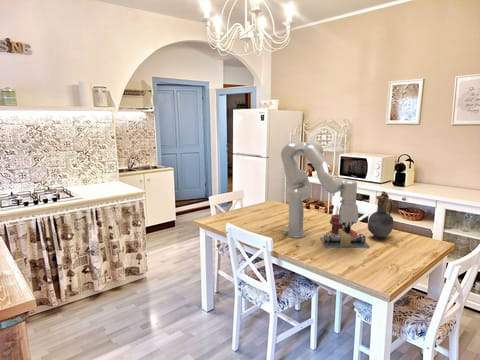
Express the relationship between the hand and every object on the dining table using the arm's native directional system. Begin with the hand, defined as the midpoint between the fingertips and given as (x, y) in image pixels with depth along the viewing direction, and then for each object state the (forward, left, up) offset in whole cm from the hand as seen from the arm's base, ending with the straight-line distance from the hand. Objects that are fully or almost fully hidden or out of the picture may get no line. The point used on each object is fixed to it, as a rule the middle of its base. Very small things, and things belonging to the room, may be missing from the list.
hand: (347, 232), depth 186 cm
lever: (+2, +3, -2) cm, 4 cm away
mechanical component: (+1, +26, -10) cm, 28 cm away
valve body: (+1, +8, -10) cm, 13 cm away
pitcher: (+27, +19, -10) cm, 35 cm away
